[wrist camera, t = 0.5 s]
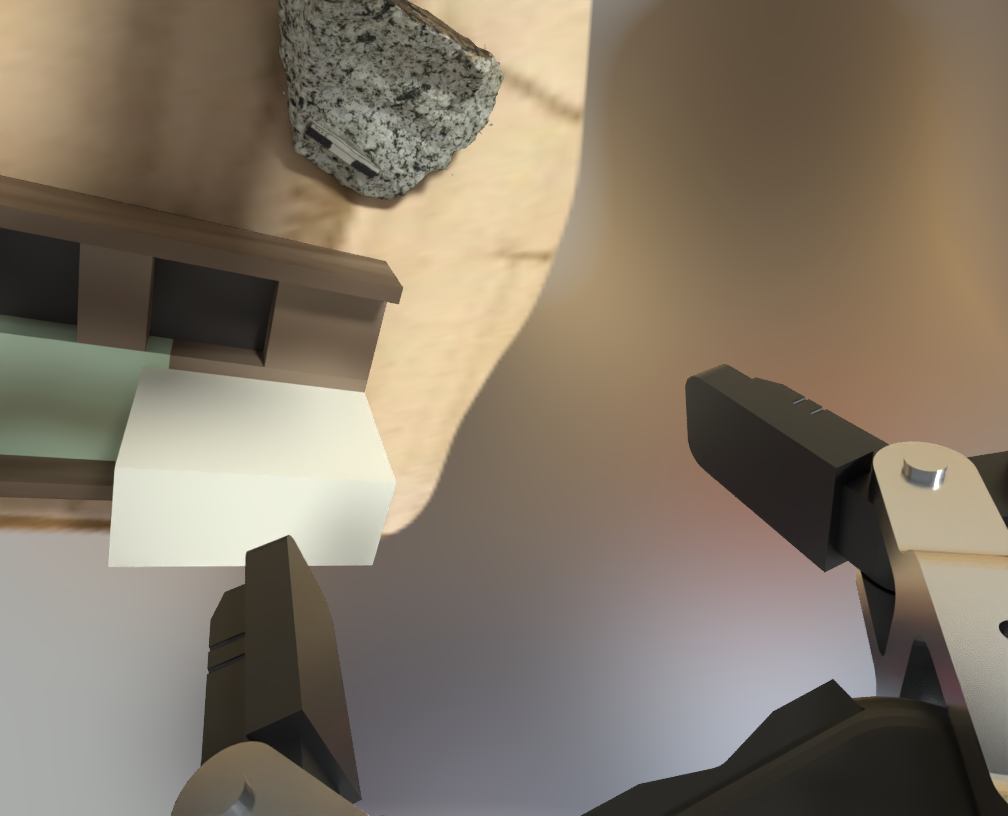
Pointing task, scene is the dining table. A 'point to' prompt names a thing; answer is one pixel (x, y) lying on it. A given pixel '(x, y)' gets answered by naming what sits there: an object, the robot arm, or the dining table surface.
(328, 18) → the rock sample
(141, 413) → the brick
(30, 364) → the box
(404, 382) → the dining table surface
